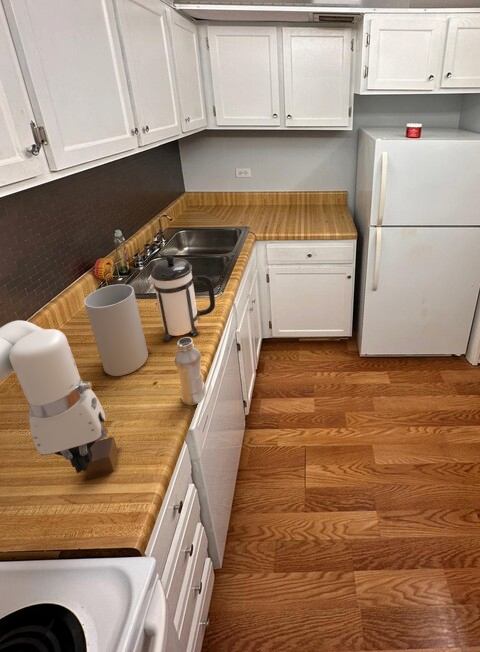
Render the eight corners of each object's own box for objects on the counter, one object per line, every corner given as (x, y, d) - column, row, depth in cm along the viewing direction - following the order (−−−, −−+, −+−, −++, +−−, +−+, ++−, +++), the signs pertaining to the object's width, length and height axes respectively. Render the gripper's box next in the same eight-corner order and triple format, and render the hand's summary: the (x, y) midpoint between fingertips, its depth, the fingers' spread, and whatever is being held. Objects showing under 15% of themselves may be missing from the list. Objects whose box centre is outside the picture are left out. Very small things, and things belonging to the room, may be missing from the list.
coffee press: (179, 350, 111) (165, 271, 100) (150, 333, 119) (134, 258, 108) (219, 323, 125) (210, 251, 114) (190, 309, 132) (180, 241, 122)
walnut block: (88, 479, 73) (82, 464, 71) (93, 458, 77) (88, 443, 76) (114, 471, 75) (109, 456, 73) (118, 451, 79) (113, 436, 77)
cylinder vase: (129, 344, 113) (113, 281, 104) (157, 354, 109) (143, 288, 100) (94, 370, 102) (73, 302, 93) (124, 382, 98) (105, 311, 89)
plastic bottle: (188, 388, 96) (178, 332, 89) (210, 390, 96) (202, 334, 88) (177, 407, 90) (165, 349, 83) (201, 409, 90) (191, 351, 82)
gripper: (109, 369, 65) (129, 435, 71) (15, 391, 60) (46, 460, 66) (100, 399, 58) (123, 469, 65) (-6, 427, 53) (30, 499, 60)
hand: (84, 464), depth 66 cm, fingers closed
